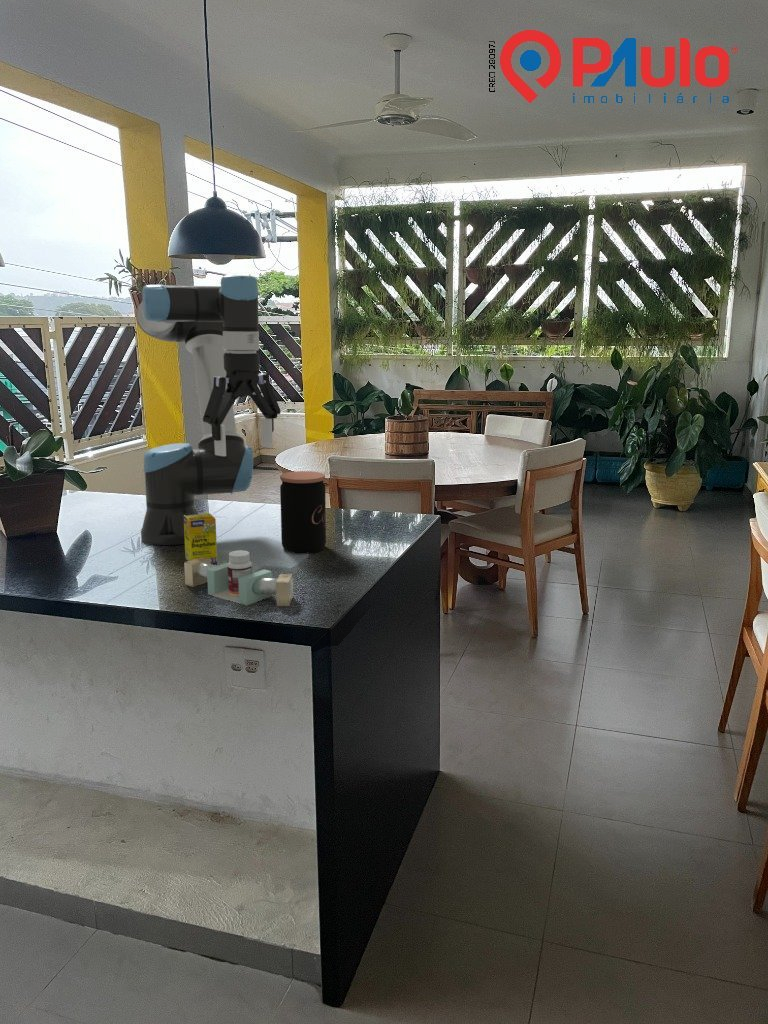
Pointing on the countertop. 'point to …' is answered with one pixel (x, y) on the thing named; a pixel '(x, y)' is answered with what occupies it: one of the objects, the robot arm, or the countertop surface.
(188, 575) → the shaft
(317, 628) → the countertop surface
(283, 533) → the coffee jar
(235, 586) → the pill bottle
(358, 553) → the countertop surface
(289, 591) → the shaft
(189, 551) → the supplement box
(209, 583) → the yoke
